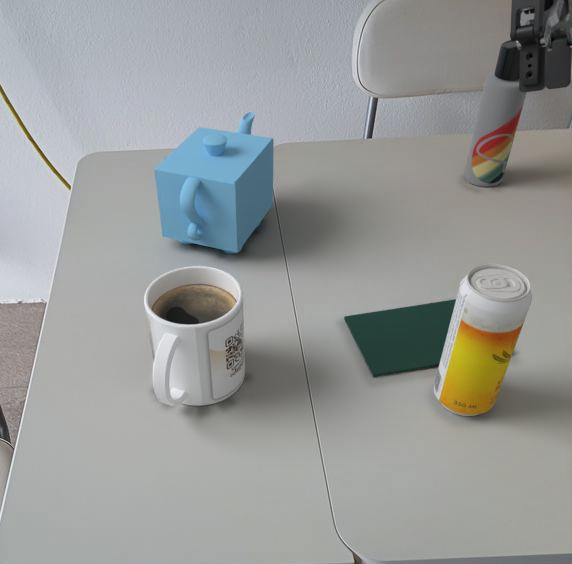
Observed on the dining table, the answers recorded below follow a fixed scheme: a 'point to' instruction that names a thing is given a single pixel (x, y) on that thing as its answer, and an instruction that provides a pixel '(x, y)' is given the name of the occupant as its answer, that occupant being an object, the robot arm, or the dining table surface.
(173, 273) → the mug
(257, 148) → the teapot
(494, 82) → the lotion bottle
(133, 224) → the dining table surface
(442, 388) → the beer can
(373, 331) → the cloth
